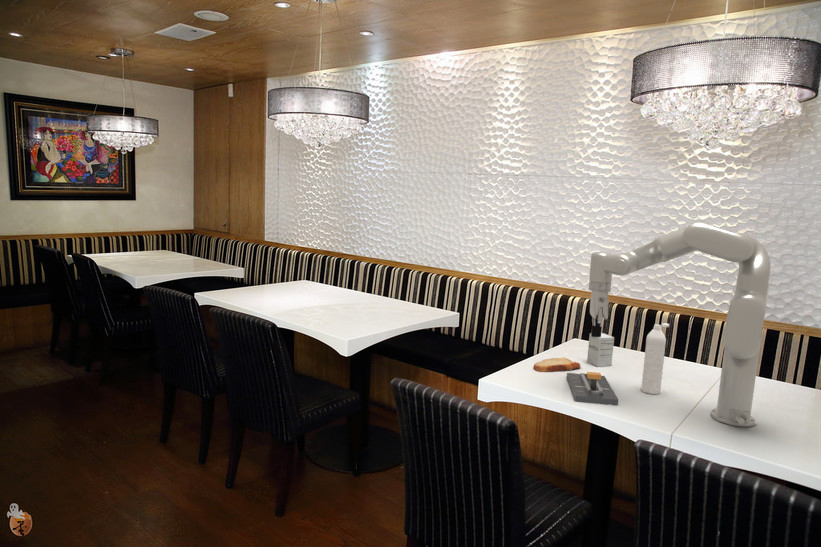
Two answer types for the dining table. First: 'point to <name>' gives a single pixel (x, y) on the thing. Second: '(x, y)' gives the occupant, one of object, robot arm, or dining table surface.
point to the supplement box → (600, 350)
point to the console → (585, 394)
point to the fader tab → (593, 379)
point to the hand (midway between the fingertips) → (595, 336)
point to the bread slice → (555, 365)
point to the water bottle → (654, 360)
